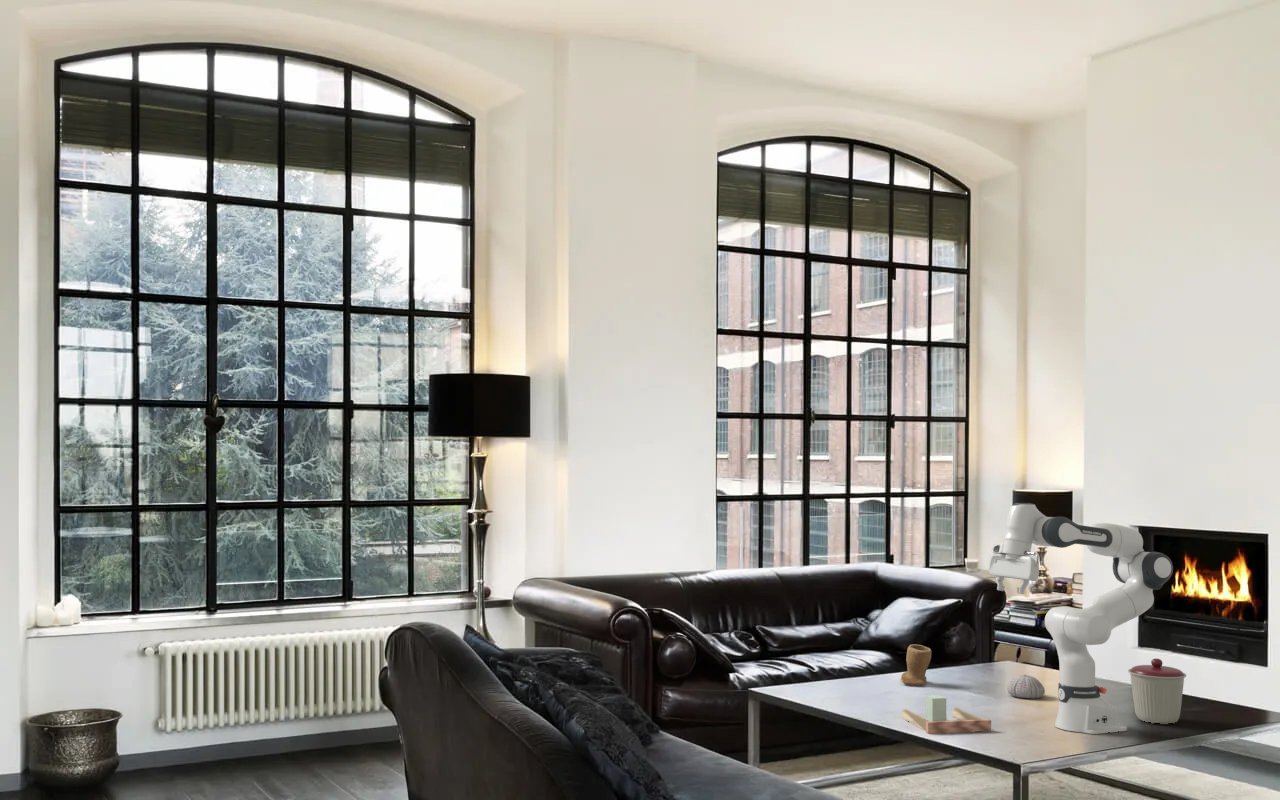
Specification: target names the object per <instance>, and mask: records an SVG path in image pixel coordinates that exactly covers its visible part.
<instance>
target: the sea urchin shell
mask: <svg viewBox="0 0 1280 800" xmlns="http://www.w3.org/2000/svg"><path fill="white" fill-rule="evenodd" d="M1006 689H1007V693H1008V694H1009V695H1010V696H1012V697H1016V698H1021V699H1041V698H1042V697H1043V696H1044V695H1045V694H1046V693H1045V692H1046V691H1045V687H1044V686H1043V684H1042V683H1041V682H1040V681H1039V680H1038V679H1037V678H1036V677H1035V676H1031V675H1029V674H1019V675H1016V676H1015V677H1013V678H1012V679H1011V680H1010V681H1009V683H1008V685H1007V688H1006Z"/></svg>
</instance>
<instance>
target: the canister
mask: <svg viewBox="0 0 1280 800" xmlns="http://www.w3.org/2000/svg"><path fill="white" fill-rule="evenodd" d="M1150 663H1151V664H1141V665H1135V666H1133V667H1132V668H1129V669H1128V670H1127V672H1128V673H1129V674H1130V684H1131V691H1132V692H1131V693H1132V699H1133V706H1134V712H1135V715H1136V717H1137V719H1139V720H1140V721H1143V722H1144V721H1145V722H1146V723H1148V722H1151V723H1150V724H1154V723H1160V724H1159V725H1169V724H1168V723H1173V724H1176V723H1177V722H1178V721H1179V719H1180V717H1181V708H1182V703H1183V702H1182V700H1183V691H1184V684H1185V678H1186V677H1187V674H1186V673H1185V672H1183V671H1182V670H1181V669H1179V668H1175V667H1173V666H1172V667H1171V666H1166V665H1163V664H1164V663H1163V660H1162V659H1160V658H1157V657H1156V658H1153V659H1151V661H1150ZM1145 722H1144V723H1145ZM1175 722H1176V723H1175Z"/></svg>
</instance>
